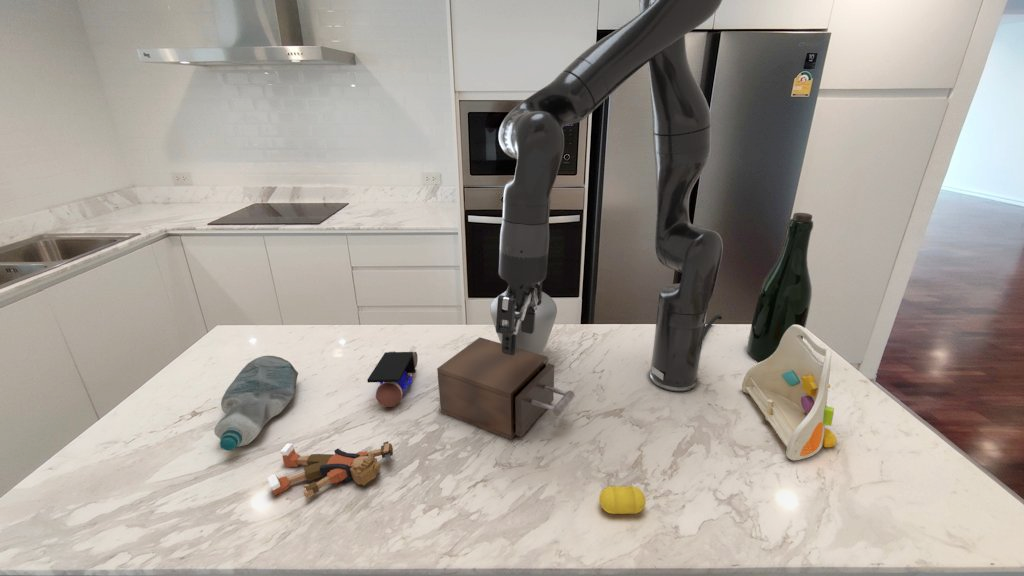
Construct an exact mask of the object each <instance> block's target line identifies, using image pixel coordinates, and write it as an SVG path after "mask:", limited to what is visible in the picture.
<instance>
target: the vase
mask: <svg viewBox="0 0 1024 576" xmlns="http://www.w3.org/2000/svg"><path fill="white" fill-rule="evenodd" d="M505 294H506V290H505V291H504V292H501V294H500V295H502V296H505ZM498 297H499V295H497V297H495V299H494V300H492V302H491V305H490V310H489V311H490V318H491V321H492V324H493V326H494V329H495V330H496V321H497V305H498ZM537 306H538V310H537V312H534V313H535V327H534V332H533V333H532V334H529V333H525V332H522V331H521V322H520V324H519V328H518V332H517V348H519V349H522V350H526V351H529V352H533V353H536V354H540V355H543V353H544V350H545V348H546V346H547V344H548V342H549V338H550V335H551V334H552V333H551V332H552V330H553V327H554V324H555V322H556V318H557V314H558V307H557V304H556V302H555V300H554V299H553V298H552V297H551V296H550V295H548V294H547V293H546V292H544V291H542V296H541V304H540V305H537ZM515 314H519V312H515ZM502 321H503V320H502ZM514 323H515V320H514ZM507 325H509V322H508V323H507ZM496 334H497V338H498V340H499V343H501V344H502V334H501V333H496Z"/></svg>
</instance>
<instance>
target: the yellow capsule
mask: <svg viewBox="0 0 1024 576" xmlns="http://www.w3.org/2000/svg"><path fill="white" fill-rule="evenodd" d="M598 500H599V504H600V507H601V508H602V510H604V511H605V512H606V513H608V514H612V515H613V514H614V515H615V514H616V515H617V514H621V515H622V514H625V515H627V514H634V515H635V514H637V513H640V512H642V511H643V510H644V508H645V506H646V496H645V494H644V492H643V491H642V490H641V489H640V488H638V487H636V486H633V485H631V486H629V485H627V486H623V485H622V486H618V485H617V486H606V487H605V488H603V489H602V490H601V492H600V494H599V499H598Z"/></svg>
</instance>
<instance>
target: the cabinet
mask: <svg viewBox="0 0 1024 576" xmlns="http://www.w3.org/2000/svg"><path fill="white" fill-rule="evenodd" d="M548 364H549V357H548V356H546V355H543V354H542V355H540V354H536V353H533V352H529V351H526V350H522V349H519V348H517V349H516V353H515V354H514V355H508V354H504V353H503V352H502V344H501V342H498V341H494V340H491V339H487V338H483V337H480V336H479V337H478V338H476V339H475V340H474V341H473V342H471V343H470V344H468V345H467V346H465V347H464V348H463V349H462V350H460V351H459V352H457V353H456V354H455V355H453V356H452V357H450V358H449V359H448V360H447V361H445V362H444V363H442V364H441V365H439V366H438V367H437V368H436V371H437V382H438V383H437V384H438V395H439V404H440V405H439V408H440V413H443V414H445V415H447V416H450V417H452V418H455V419H457V420H460V421H462V422H465V423H467V424H470V425H472V426H475V427H477V428H480V429H482V430H484V431H488V432H490V433H493V434H495V435H497V436H500V437H502V438H505V439H507V440H510V441H512V440H513V439H514V438H515V437H516V436H517V435H516V423H515V424H514V422H513V395H514V394H515V393H516V392H517V391H518V390H519V389H520V388H521V387H522V386H523V385H524V384H525V383H526V382H527V381H528V380H529V379H530V378H531V377H532V376H533V375H534V374H535V373H536V372H537V371H538V370H539V369H540V372H541V371H542V370H543V369H544V368H545V367H546V366H547V365H548Z"/></svg>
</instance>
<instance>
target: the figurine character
mask: <svg viewBox="0 0 1024 576" xmlns="http://www.w3.org/2000/svg"><path fill="white" fill-rule="evenodd" d="M418 359H419V357H418V353H417V351H386V352H384V353H383V355H382V356H381V358H380V359H379V361H378V363H377V364H376V365H375V367H374V369H373V370H372V371H371V373H370V374H369V376H368V377H367V380H366V381H367V383H379V384H380V385H378V387H377V389H376V391H375V399H376V402H377V403H378V404H379V405H380V406H382V407H383V408H393V407H395V406H396V405H398V404H399V403H400V401H401V400H402V397H403V391H405V390H407V387H409V386H410V385H411V384H412V383H413V376H414V375H413V374H416V368H417V366H418V362H419V361H418Z"/></svg>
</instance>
